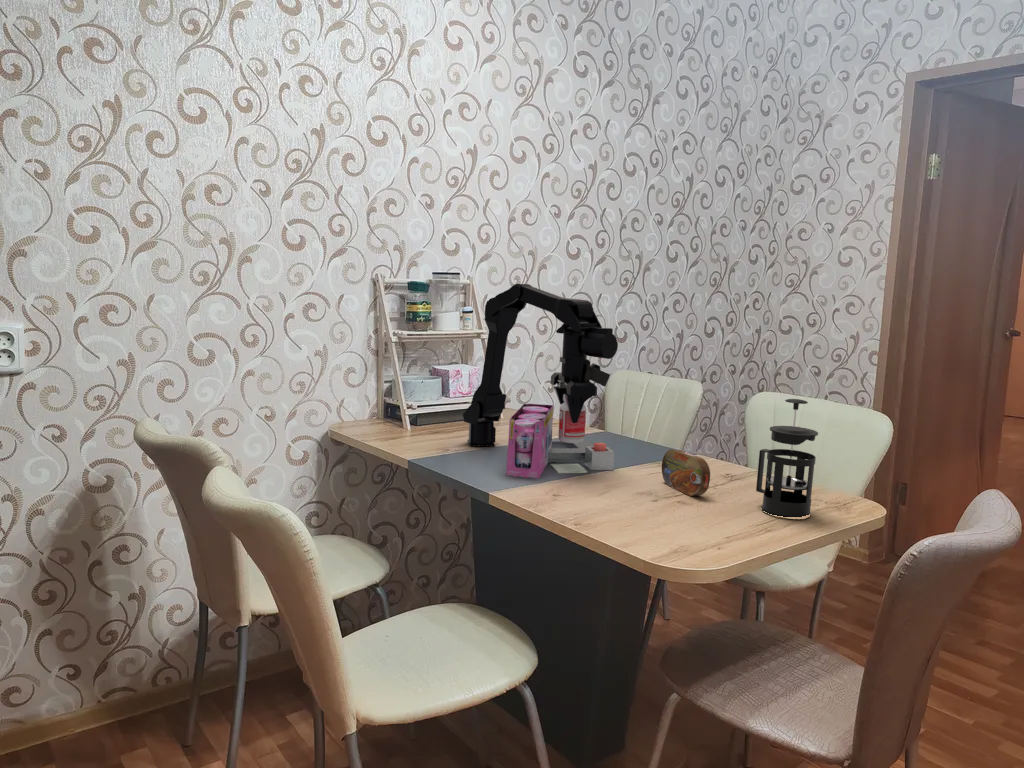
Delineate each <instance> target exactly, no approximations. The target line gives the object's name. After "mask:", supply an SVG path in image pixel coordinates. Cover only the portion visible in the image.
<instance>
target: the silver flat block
mask: <svg viewBox="0 0 1024 768" xmlns="http://www.w3.org/2000/svg"><path fill="white" fill-rule="evenodd" d="M585 446H594V443H593V442H591V440H584V441H583V442H580V443H566V442H562V441H560V440H552V448H551V449H550V451H549V452H548V463H547V464H552V463H551V462H556V463H555V464H579V463H581V464H582V463H584V464H585ZM558 462H559V463H558ZM561 462H562V463H561Z"/></svg>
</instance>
